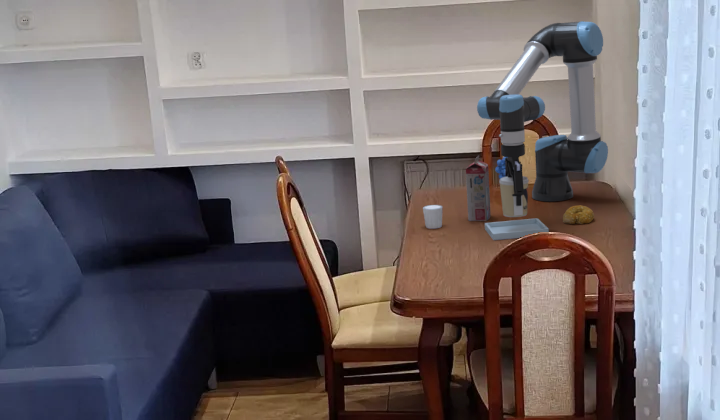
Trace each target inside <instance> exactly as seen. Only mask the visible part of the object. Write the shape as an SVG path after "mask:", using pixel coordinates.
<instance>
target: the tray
mask: <svg viewBox="0 0 720 420" xmlns="http://www.w3.org/2000/svg"><path fill="white" fill-rule="evenodd" d="M484 230H485V231H486V233H487V234H488V235H489V236H490V238H491V239H492V240H493V241H500V240H502V241H503V240H510V239H511V240H512V239H520V237H523V236H525V235H528V234H533V233H538V232H549V233H550V229H549V227H547V225H546V224H544V223H543V222H542V221H541V220H540V219H539V218H528V219H527V218H526V219H514V220H506V221H505V220H504V221H493V222H484ZM523 238H524V237H523Z"/></svg>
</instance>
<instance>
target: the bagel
mask: <svg viewBox="0 0 720 420" xmlns="http://www.w3.org/2000/svg"><path fill="white" fill-rule="evenodd" d="M594 219H595V213H594V211H593V210H592V209H591V208H590V207H588V206H586V205H582V204H581V205H579V204H578V205H572V206H569V207H568V208H567V209H566V210H565V213H563V215H562V223H564V224H569V225H574V224H577V225H585V224H589V223H591V222H592V221H593V220H594Z"/></svg>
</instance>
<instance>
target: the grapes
mask: <svg viewBox="0 0 720 420" xmlns="http://www.w3.org/2000/svg"><path fill="white" fill-rule="evenodd" d="M505 158H508V157H503V156H502V159H497V161H496V165H497V166H496V167H495V169H494V170H495V172H496V174H498V180H500V179H501V178H503V177H505Z"/></svg>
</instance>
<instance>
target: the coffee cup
mask: <svg viewBox="0 0 720 420" xmlns="http://www.w3.org/2000/svg"><path fill="white" fill-rule="evenodd" d="M529 181H530V180H529V179H528V177H527V176H525V175H523V187H524V195H522V203H523V215H517V216H514V200H513V196H512V194H514V184H513V181H512V177H508V176H507V177H503V178H501V179H499V187H500V188H499V189H500V196H501V206H502V207H501V208H502V215H503V216H504V217H506V218H520V217H526V216H527V214H528V205H529V204H528V203H529Z"/></svg>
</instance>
